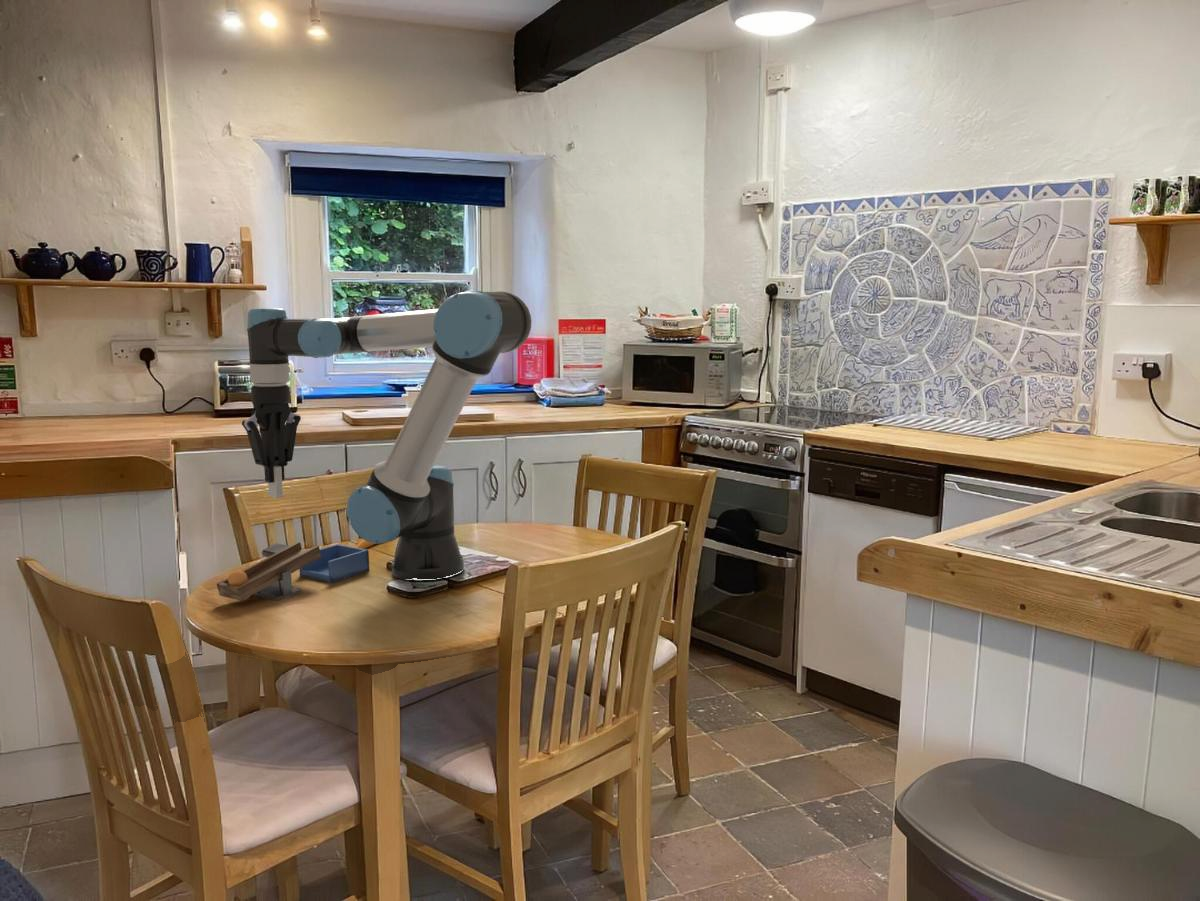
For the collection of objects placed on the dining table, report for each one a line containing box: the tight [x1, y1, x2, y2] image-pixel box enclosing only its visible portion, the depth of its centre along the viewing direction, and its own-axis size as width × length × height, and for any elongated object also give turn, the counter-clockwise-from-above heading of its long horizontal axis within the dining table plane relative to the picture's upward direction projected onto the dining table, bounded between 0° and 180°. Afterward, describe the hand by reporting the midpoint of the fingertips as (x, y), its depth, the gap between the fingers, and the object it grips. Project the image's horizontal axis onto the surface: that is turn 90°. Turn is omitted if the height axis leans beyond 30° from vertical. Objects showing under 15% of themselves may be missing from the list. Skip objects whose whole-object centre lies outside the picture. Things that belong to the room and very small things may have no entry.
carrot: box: [355, 539, 376, 549], centre depth 225 cm, size 20×4×4 cm, turn 164°
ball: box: [227, 569, 248, 586], centre depth 181 cm, size 4×4×4 cm
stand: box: [252, 571, 302, 602], centre depth 188 cm, size 10×6×5 cm, turn 57°
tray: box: [299, 543, 370, 584], centre depth 201 cm, size 10×11×4 cm
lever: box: [216, 541, 321, 602], centre depth 189 cm, size 14×20×2 cm
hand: (275, 496), depth 197 cm, fingers closed
